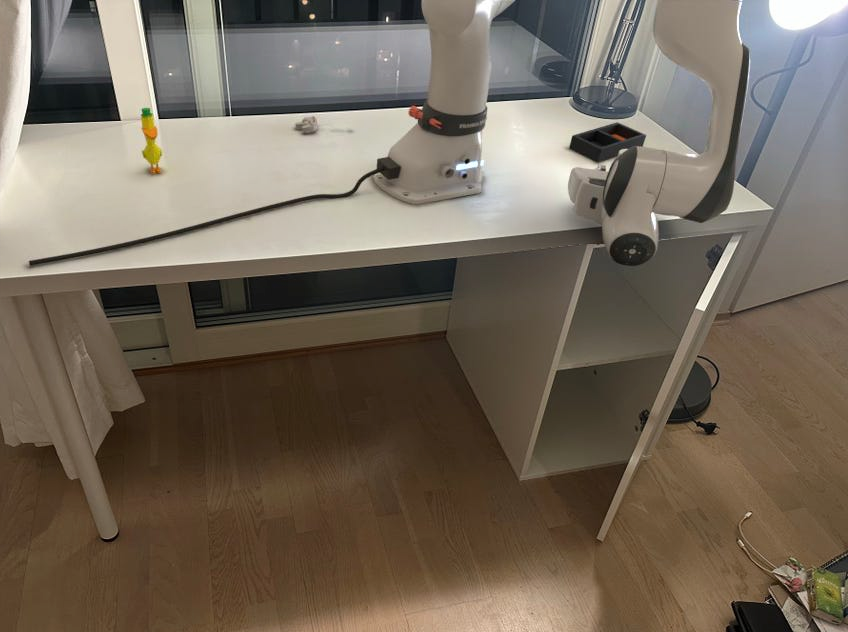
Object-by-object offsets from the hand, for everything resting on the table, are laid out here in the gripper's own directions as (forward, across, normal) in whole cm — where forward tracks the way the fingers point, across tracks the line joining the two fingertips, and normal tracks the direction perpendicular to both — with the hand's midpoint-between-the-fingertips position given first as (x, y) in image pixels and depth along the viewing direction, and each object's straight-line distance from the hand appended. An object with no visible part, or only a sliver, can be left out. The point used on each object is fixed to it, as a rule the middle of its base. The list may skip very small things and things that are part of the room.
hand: (623, 171), depth 134 cm
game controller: (+11, +62, +6) cm, 64 cm away
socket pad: (+24, +1, +6) cm, 25 cm away
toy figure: (-19, +87, +6) cm, 90 cm away
